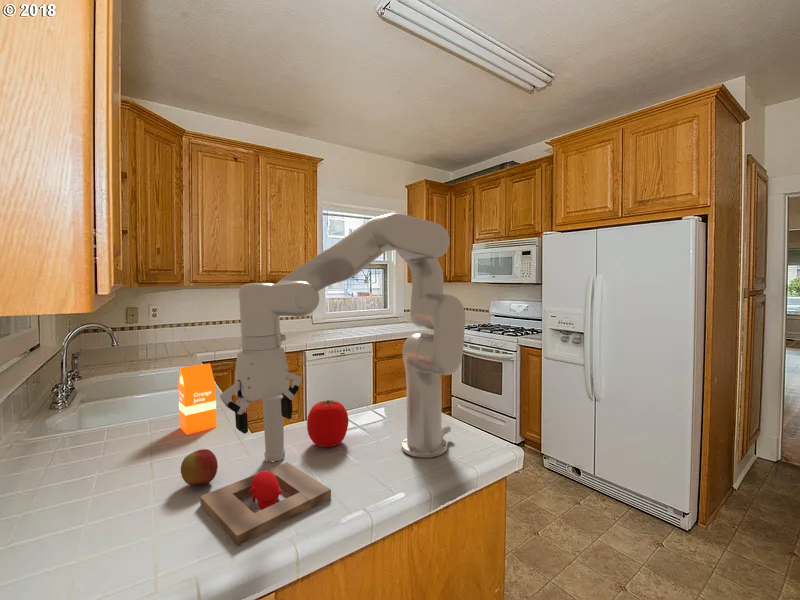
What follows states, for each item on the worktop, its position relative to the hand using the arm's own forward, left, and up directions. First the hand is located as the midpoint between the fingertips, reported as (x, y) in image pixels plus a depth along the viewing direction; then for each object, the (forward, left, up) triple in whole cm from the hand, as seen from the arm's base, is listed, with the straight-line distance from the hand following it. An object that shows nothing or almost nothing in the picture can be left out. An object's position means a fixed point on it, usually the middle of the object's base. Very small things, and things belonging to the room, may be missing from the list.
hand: (265, 424), depth 80 cm
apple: (+7, -18, -17) cm, 26 cm away
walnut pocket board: (0, 0, -17) cm, 17 cm away
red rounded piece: (0, 0, -17) cm, 17 cm away
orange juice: (-5, -55, -17) cm, 58 cm away
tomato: (-26, -14, -17) cm, 34 cm away
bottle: (-11, -17, -17) cm, 26 cm away
